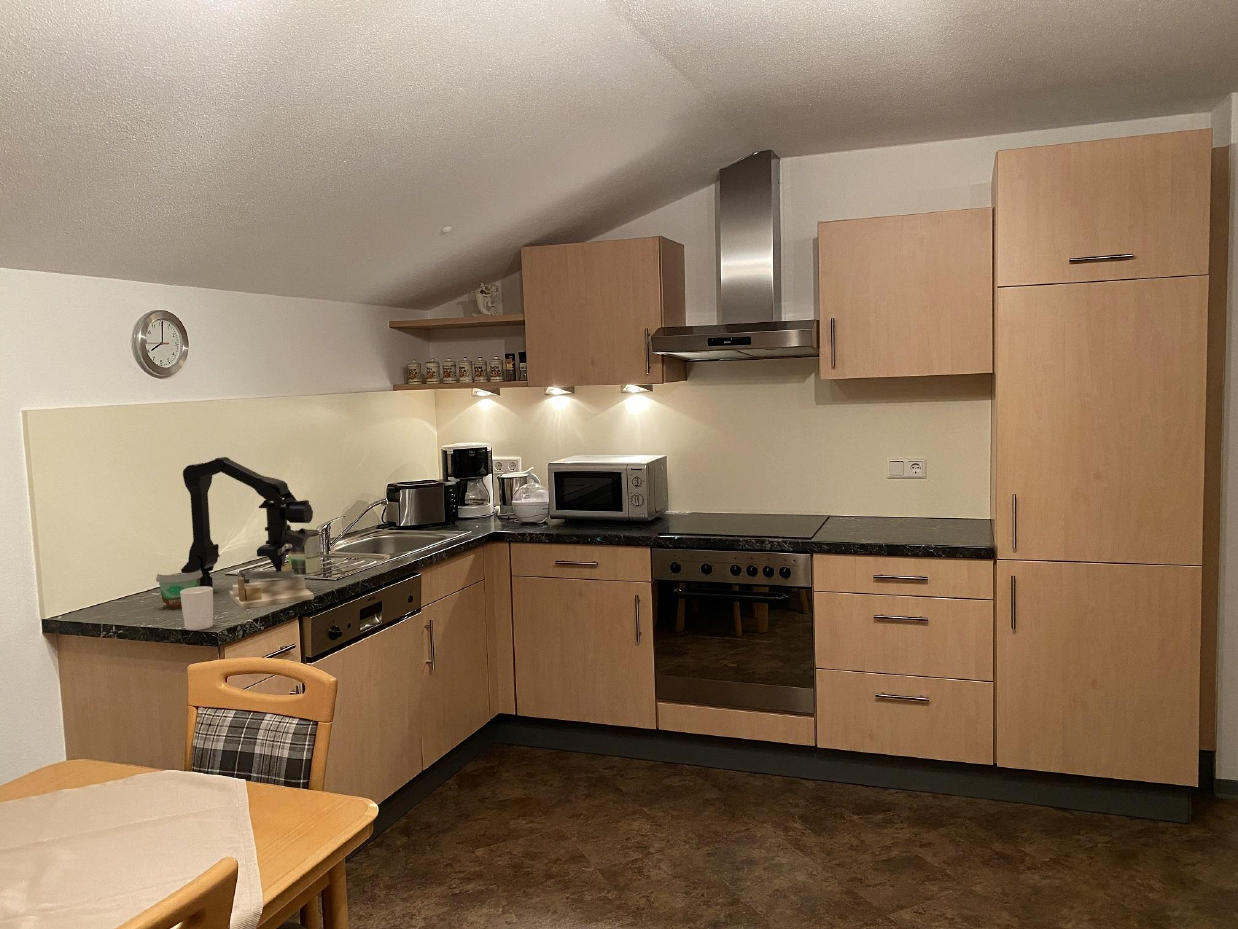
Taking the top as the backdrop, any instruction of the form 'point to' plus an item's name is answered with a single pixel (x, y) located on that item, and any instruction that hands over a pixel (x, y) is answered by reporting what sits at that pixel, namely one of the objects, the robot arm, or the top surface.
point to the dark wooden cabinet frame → (268, 573)
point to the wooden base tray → (269, 592)
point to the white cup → (197, 607)
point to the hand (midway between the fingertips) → (280, 573)
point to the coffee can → (306, 556)
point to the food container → (176, 587)
